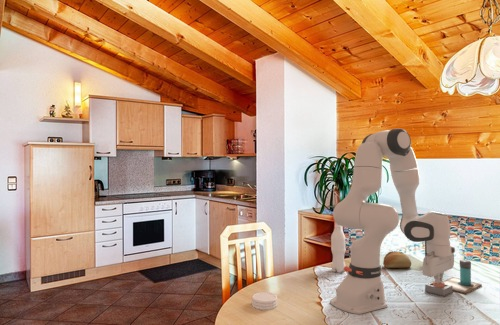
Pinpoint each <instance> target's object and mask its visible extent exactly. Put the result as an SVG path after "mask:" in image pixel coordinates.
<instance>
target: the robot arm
mask: <svg viewBox="0 0 500 325" xmlns="http://www.w3.org/2000/svg"><path fill="white" fill-rule="evenodd" d="M411 145H412V139H411V136H410V134H409V132H408V131H406V130H405V129H403V128H392V129H386V130H380V131H377V132H374V133H371V134H370V133H369V134H368V135H367V136H365V137H364V138H363V139H362V140H361V143H360V144H359V146H358V147H357V149H356V152H355V158H354V162H353V174H352V175H353V176H352V181H351V186H350V188H349V192H347V194H346V196H345V197H344V198H343V199H342V200H341V201H339V202H338V203H337V204H336V205H335V206H334V208H333V212H332V216H333V221H334V223H335V222H336V223H337V224H338V225H340V226H342V227H344V228H346V229H351V230H352V229H354V230H360V231H361V230H363V232H364V235H363V237H360V238H359V237H358V238H357V239H355V240H353V242H352V243H351V245H350V263H349V266H347V265H346V266H345V268H344V272H347V275H346V276H345V277H344V279H343V280H342V281H341V282H340V283H339V284H338V286H337V288H336V295H335V297H333V298H331V299H329V303H330V305H332V306H333V307H335V308H337V309H339V310H342V311H344V312H347V313H350V314H356V315H361V314H365V313H369V312H373V311H377V310H381V309H385V308H388V303H387V302H386V298H385V287H384V283H383V281H382V278H381V276H382V266H381V263H380V262H381V261H380V258H381V248H382V243H383V241H384V239H385V238H386V237H387V235H389V234H391V232H393V231H395V230H396V229H397V227H398V225H399V227H400V230H401V232H402V234H404V236H405V237H406V239H407V240H409V241H411V242H413V243H420V242H425V241H426V244H427V255H426V257H425V256H424V257H423V260H422V274H423V276H426V277H430V278H432V277H433V278H434V281H435V283H437V284H439V283H441V282H443V278H444V275H445V272H447V271H448V270H449V271H450V270H452V269H453V268H454V264H455V254H454V253H455V252H456V248H455V246H451V242H450V241H451V240H450V235H451V226H450V225H451V223H450V219H449V216H448V215H446V213H443V212H441V211H435V210H430V211H427V212H426V213H423V214H422V215H419V212H418V208H417V207H418V206H417V203H416V202H417V200H416V190H417V188H418V187H419V185H420V171H419V165H418V160H417V158H416V155H415V152H414V149H413V148H412V147H411ZM384 157H385V158H387V159H388V160H389V169H390V175H391V180H392V183H393V185H394V187H395V189H396V191H397V193H398V197H399V202H400V207H401V213H402V214H401V218H400V216H399V212H398V211H397V209H396V208H395V207H394V206H393V205H392V206H391V205H390V204H389V205H388V204H384V203H377V202H367V199H368V198H369V197H370V196H371V195H373V194H375V193H377V192H378V191H380V189H381V187H382V177H383V176H382V175H383V158H384ZM399 222H400V223H399Z"/></svg>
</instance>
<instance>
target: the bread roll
mask: <svg viewBox="0 0 500 325" xmlns="http://www.w3.org/2000/svg"><path fill="white" fill-rule="evenodd" d="M382 264H383V266H384V268H387V269H389V268H391V269H394V268H397V269H399V268H400V269H401V268H403V269H404V268H410V267H411V266H412V261H411V259H410V257H409V256H408V255H407V254H406V253H404V252H402V251H397V250H396V251H389V252H387V253H386V254H385V256H384V258H383V262H382Z"/></svg>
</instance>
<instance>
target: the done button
mask: <svg viewBox="0 0 500 325" xmlns="http://www.w3.org/2000/svg"><path fill="white" fill-rule="evenodd" d="M432 281H433V286H436V287H440V288H444V287H445V283H443V281H442V282H441V283H439V284H437V283H435V280H432Z"/></svg>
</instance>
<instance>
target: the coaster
mask: <svg viewBox="0 0 500 325" xmlns="http://www.w3.org/2000/svg"><path fill="white" fill-rule="evenodd" d="M251 305H252V307H253V308H254V309H257V310H259V311H260V310H261V311H269V310H273V309H275V308H277V307H278V296H277V294H275V293H273V292H269V291H261V292H256V293H254V294H253V295H252V297H251Z"/></svg>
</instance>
